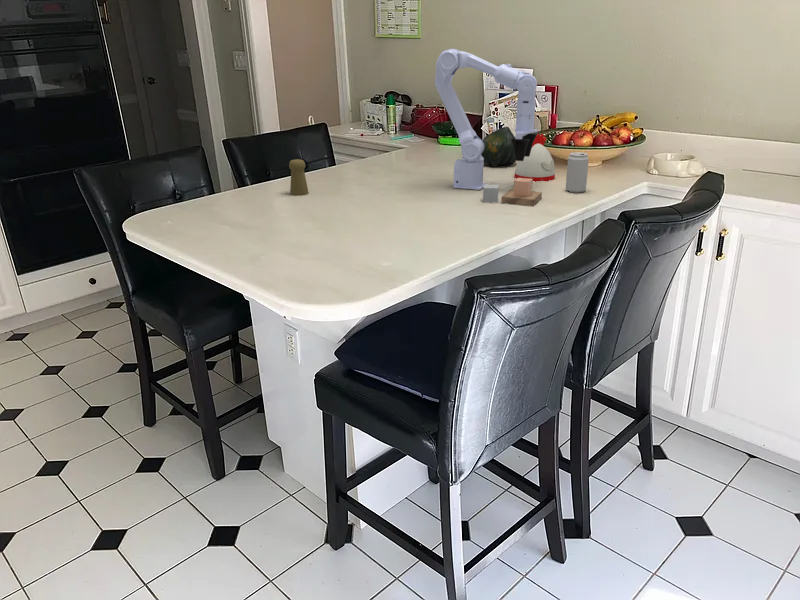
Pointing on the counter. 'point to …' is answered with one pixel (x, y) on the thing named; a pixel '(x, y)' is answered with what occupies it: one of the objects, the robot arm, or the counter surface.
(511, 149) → the squash
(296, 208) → the counter surface
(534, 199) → the walnut plinth
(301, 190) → the cork
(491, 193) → the grey cube
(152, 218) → the counter surface
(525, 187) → the terracotta cube
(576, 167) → the beverage can
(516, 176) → the kitchen timer
